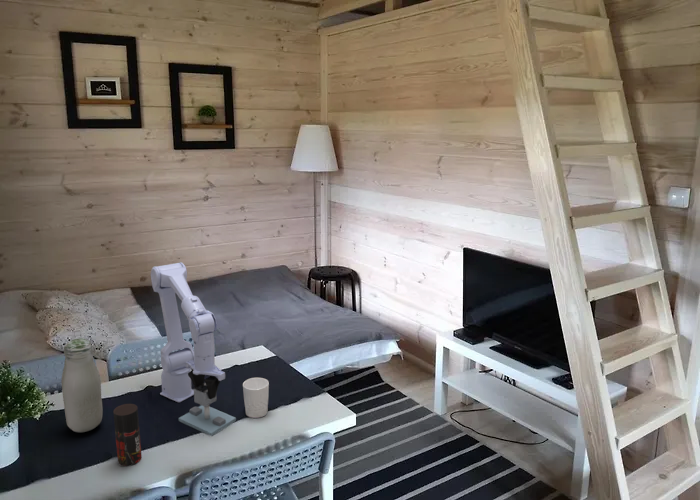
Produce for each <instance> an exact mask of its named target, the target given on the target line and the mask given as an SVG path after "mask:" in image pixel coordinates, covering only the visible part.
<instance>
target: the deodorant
mask: <svg viewBox="0 0 700 500" xmlns="http://www.w3.org/2000/svg"><path fill="white" fill-rule="evenodd" d="M112 413H113V421H114V432H115V434H114V435H115V443H116V444H115V445H116V453H117V462H118V465H119V466H121V467H131V466H134V465H136V464H138V463H139V462H141V460H142V456H143V455H142V446H141V445H142V442H141V433H140V431H141V430H140V423H139V420H140V419H139V409H138V405H136V404H134V403H123V404H121V405H118V406H116V407H115V408H114V409H113V412H112Z"/></svg>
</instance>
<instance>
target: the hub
mask: <svg viewBox="0 0 700 500" xmlns="http://www.w3.org/2000/svg"><path fill="white" fill-rule="evenodd" d="M193 390H194V395H193V399H194V400H193V401H194V403H195V404H198V405H199V406H201V405H202V406H204V407H206V406H207V405H209V406H210V405H211V404H212V403H214V402H217V401H218V400H217V394H216V397H214V398H213V399H209V396H208V389H207V385H206V383H205V382H204V384H202V385H200V386H198V387H196V388H195V387H194V388H193Z"/></svg>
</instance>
